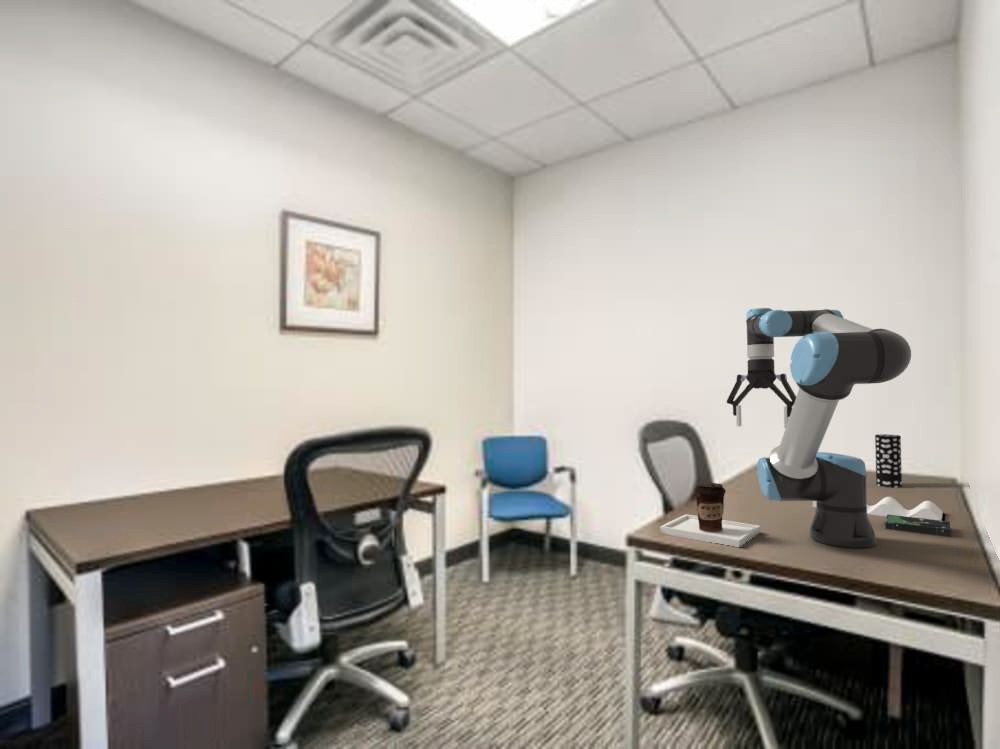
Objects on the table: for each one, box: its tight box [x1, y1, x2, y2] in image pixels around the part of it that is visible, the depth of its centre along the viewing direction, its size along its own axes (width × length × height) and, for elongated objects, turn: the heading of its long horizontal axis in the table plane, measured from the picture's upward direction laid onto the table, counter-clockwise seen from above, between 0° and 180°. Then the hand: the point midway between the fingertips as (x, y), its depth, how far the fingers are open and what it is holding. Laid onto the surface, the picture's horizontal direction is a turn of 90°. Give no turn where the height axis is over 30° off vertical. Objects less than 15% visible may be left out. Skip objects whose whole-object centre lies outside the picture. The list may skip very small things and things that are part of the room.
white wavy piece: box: [812, 496, 946, 521], centre depth 179 cm, size 13×35×5 cm, turn 50°
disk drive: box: [884, 515, 951, 538], centre depth 158 cm, size 10×3×15 cm
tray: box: [659, 513, 762, 548], centre depth 158 cm, size 22×18×2 cm
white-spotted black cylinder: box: [874, 433, 903, 489], centre depth 219 cm, size 8×8×20 cm
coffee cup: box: [694, 482, 726, 532], centre depth 157 cm, size 9×8×13 cm
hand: (762, 427), depth 170 cm, fingers open, 13 cm apart
